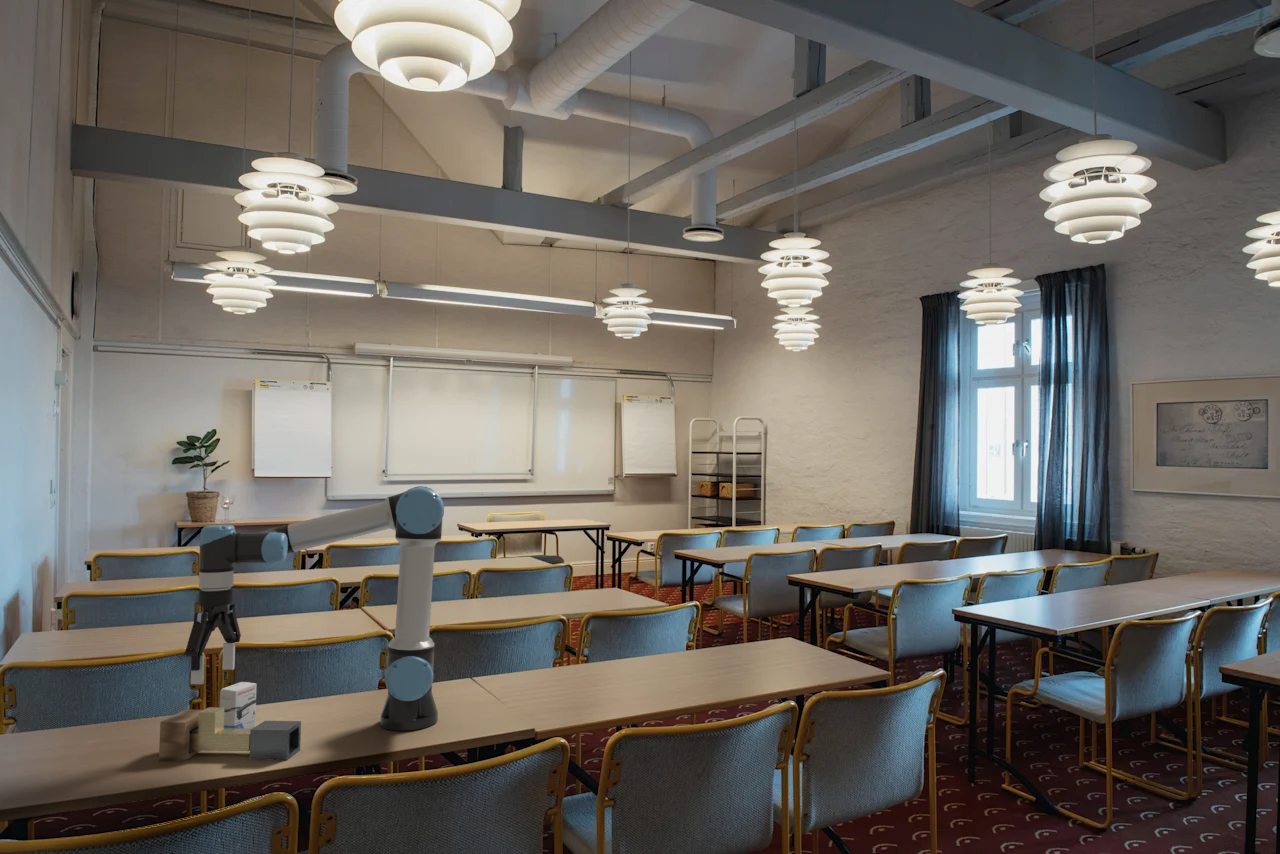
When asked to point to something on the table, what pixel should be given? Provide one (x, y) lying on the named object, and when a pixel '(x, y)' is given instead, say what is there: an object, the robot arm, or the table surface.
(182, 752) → the socket
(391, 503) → the robot arm
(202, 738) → the l-shaped notched block
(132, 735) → the table surface
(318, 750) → the table surface
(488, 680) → the table surface
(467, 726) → the table surface
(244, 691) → the ink box
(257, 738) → the sleeve
